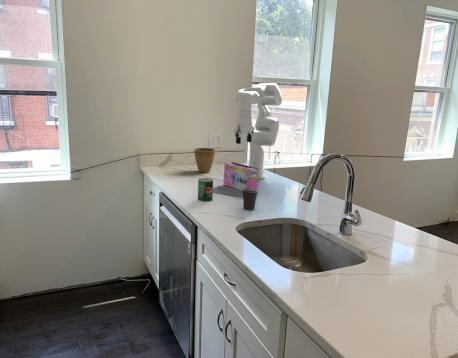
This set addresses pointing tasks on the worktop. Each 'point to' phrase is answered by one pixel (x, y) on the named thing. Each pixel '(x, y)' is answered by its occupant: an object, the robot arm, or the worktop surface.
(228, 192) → the mat
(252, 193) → the dark tapered cylinder
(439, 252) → the worktop surface
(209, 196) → the canned tomato
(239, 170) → the gum box
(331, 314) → the worktop surface
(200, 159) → the plant pot
